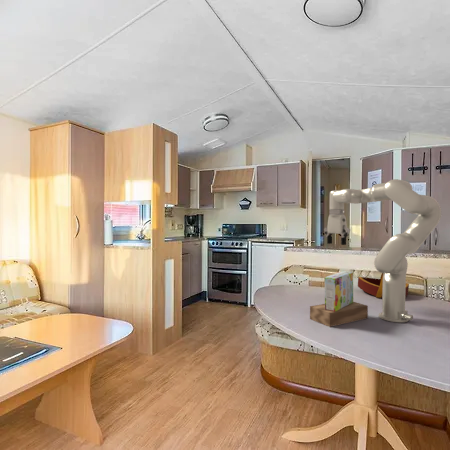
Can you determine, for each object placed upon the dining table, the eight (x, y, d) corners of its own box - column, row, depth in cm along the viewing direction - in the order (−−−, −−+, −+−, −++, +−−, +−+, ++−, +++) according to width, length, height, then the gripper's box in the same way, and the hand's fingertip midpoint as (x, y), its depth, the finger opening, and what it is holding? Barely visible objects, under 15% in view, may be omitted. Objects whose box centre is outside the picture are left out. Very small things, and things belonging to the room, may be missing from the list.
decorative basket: (406, 306, 175) (411, 281, 174) (352, 292, 190) (356, 268, 189) (407, 295, 204) (411, 273, 203) (360, 283, 219) (364, 263, 218)
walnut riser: (367, 318, 147) (367, 305, 147) (329, 326, 135) (329, 313, 135) (346, 311, 157) (347, 299, 157) (310, 319, 146) (310, 306, 145)
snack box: (342, 300, 156) (342, 270, 155) (353, 302, 152) (354, 272, 152) (323, 309, 140) (324, 276, 140) (335, 312, 136) (336, 278, 136)
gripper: (354, 212, 164) (354, 245, 164) (329, 213, 179) (329, 242, 179) (344, 212, 160) (344, 245, 161) (319, 213, 176) (319, 243, 176)
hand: (336, 244), depth 170 cm, fingers open, 9 cm apart
